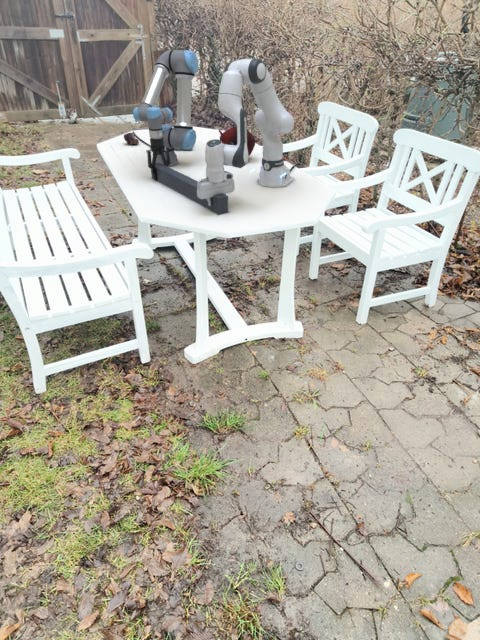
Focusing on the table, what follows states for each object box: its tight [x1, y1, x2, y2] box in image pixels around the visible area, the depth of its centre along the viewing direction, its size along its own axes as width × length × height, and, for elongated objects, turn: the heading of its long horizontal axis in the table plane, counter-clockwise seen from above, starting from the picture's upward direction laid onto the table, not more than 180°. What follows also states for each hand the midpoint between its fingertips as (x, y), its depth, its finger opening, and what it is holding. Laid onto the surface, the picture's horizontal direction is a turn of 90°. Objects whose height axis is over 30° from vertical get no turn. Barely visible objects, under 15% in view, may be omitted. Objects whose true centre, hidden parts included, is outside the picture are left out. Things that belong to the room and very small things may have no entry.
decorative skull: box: [218, 126, 257, 157], centre depth 296 cm, size 21×24×25 cm
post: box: [150, 162, 229, 215], centre depth 244 cm, size 74×6×8 cm, turn 35°
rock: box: [123, 132, 140, 145], centre depth 336 cm, size 12×9×10 cm
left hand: (160, 178), depth 266 cm, fingers open, 6 cm apart
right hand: (216, 203), depth 224 cm, fingers closed on post, 5 cm apart
